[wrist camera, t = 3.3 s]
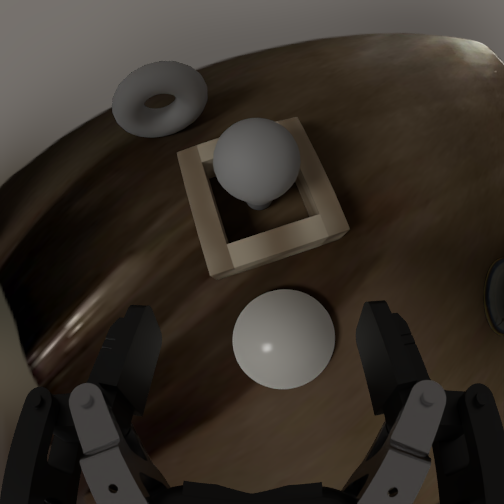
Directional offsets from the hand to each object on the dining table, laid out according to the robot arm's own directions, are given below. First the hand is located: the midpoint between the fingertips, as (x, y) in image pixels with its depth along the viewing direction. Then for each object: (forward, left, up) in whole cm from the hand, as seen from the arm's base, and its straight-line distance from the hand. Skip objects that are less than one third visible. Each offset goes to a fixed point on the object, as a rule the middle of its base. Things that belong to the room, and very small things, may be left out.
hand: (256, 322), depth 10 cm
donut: (-3, +22, -15) cm, 27 cm away
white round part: (+1, -3, -15) cm, 15 cm away
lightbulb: (+3, +10, -15) cm, 18 cm away
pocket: (+3, +10, -15) cm, 18 cm away
